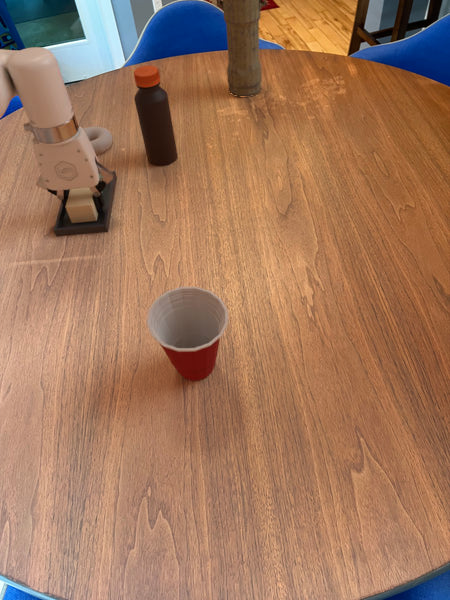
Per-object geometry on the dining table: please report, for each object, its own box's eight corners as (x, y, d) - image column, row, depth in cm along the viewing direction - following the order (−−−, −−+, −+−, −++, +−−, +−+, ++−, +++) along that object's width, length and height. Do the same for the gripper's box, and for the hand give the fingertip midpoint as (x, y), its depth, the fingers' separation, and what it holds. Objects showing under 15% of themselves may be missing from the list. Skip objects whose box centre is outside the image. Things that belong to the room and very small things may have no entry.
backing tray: (56, 238, 93) (53, 230, 92) (71, 183, 105) (68, 175, 104) (108, 234, 93) (105, 225, 92) (117, 179, 105) (115, 170, 103)
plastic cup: (226, 401, 68) (220, 353, 59) (153, 392, 69) (136, 344, 60) (238, 339, 75) (234, 287, 65) (171, 332, 76) (158, 281, 67)
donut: (93, 133, 119) (63, 152, 114) (90, 120, 116) (59, 138, 111) (123, 143, 115) (93, 163, 110) (119, 130, 112) (89, 150, 107)
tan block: (71, 223, 95) (65, 207, 92) (77, 201, 99) (71, 185, 96) (96, 221, 95) (91, 204, 92) (101, 199, 99) (95, 183, 96)
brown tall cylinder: (222, 83, 131) (211, -76, 105) (266, 80, 131) (265, -80, 104) (222, 99, 125) (210, -65, 99) (267, 96, 125) (267, -70, 98)
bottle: (149, 170, 106) (130, 81, 91) (146, 154, 111) (127, 66, 96) (179, 165, 107) (165, 75, 92) (175, 149, 111) (160, 60, 96)
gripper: (1, 143, 81) (41, 226, 95) (101, 133, 80) (126, 218, 94) (12, 121, 86) (48, 202, 99) (106, 111, 85) (129, 194, 99)
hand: (86, 209), depth 97 cm, fingers closed on tan block, 5 cm apart
